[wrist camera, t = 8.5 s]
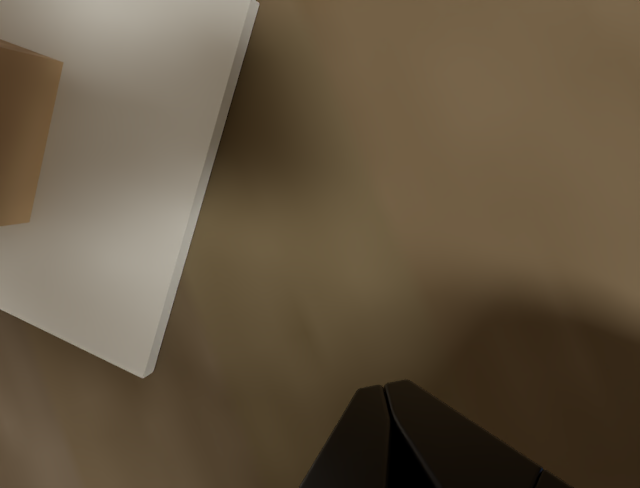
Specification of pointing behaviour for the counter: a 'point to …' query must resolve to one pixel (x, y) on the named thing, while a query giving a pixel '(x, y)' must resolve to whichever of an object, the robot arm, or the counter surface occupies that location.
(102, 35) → the grey mat
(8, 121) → the oak block
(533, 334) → the counter surface
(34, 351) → the counter surface
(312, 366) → the counter surface
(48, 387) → the counter surface
